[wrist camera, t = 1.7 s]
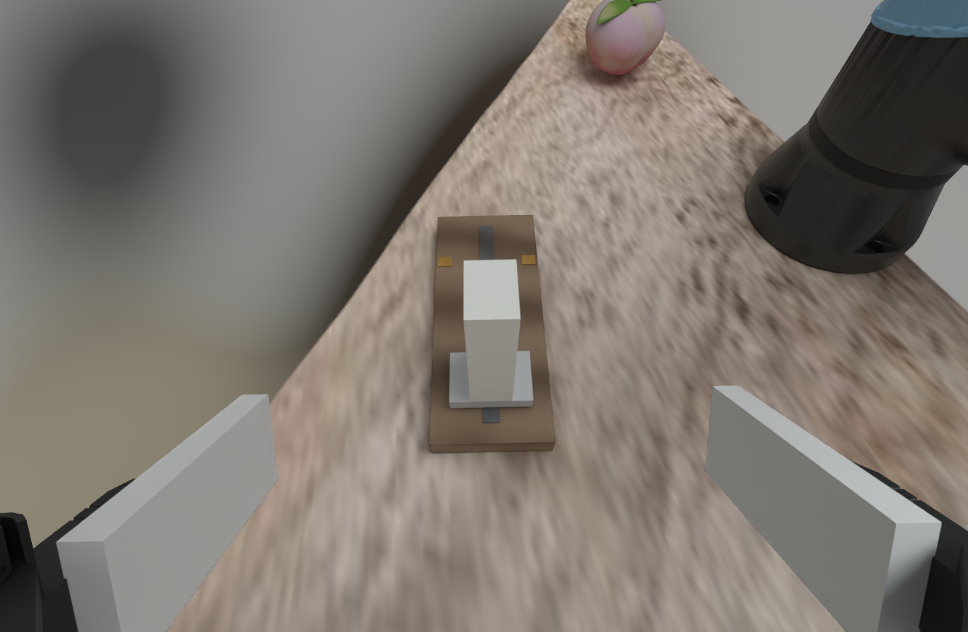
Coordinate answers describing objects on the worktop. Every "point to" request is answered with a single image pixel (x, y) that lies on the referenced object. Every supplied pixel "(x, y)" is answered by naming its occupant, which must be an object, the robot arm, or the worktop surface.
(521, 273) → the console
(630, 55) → the decorative fruit
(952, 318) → the worktop surface
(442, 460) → the worktop surface
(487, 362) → the block
